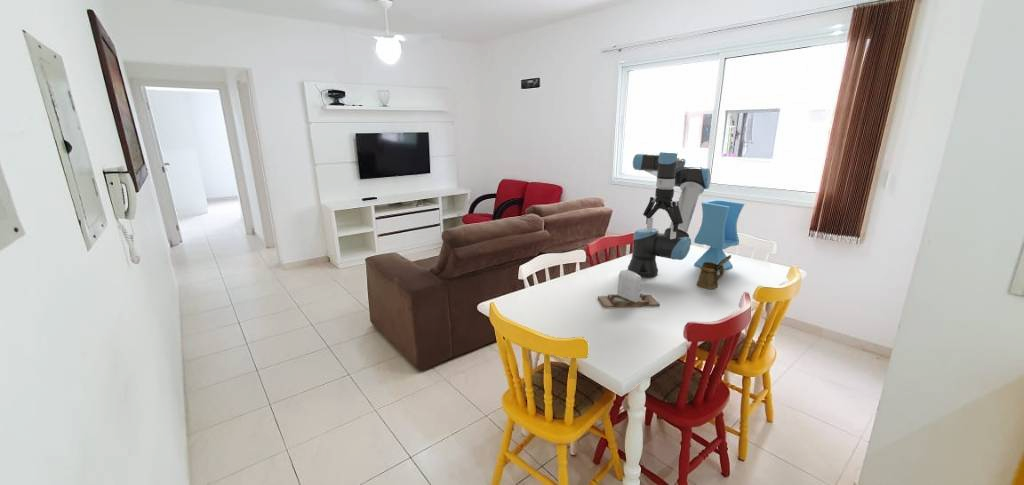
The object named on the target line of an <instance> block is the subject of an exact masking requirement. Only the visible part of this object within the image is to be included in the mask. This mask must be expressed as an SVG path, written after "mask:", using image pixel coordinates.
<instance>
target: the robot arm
mask: <svg viewBox="0 0 1024 485" xmlns="http://www.w3.org/2000/svg"><path fill="white" fill-rule="evenodd" d="M632 167H633V168H632V169H633V170H635V171H643V172H646V173H648V174H650V175H652V176H655V177H656V186H655V195H654V196H650V197H649V202H648V203H647V205H646V208H645V209H644V212H643V214H642V215H643V216H644V217H646V220H645V221H646V222H645V223H646V224H645V225H646V228H639V229H637V230H635V231H634V233H633V238H632V240H633V241H632V255H631V259H630V260H629V263H628V266H627V270H629V271H632V272H635V273H636V274H638V275H639V276H641V278H653V277H656V276H658V274H659V269H658V265H657V260H656V258H657V257H660V258H665V259H670V260H677V261H682V260H684V259H685V258H687V256H688V254H689V252H690V249H691V244H692V238H690V234H689V233H688V231H689V227H690V224H691V222H692V219H693V218H692V217H693V215H694V212H695V210H696V209H695V208H696V206H697V203H698V200H699V196H700V195H702V194H703V193H704V192H705V190H708V189H709V188H710V184H711V170H710V167H709V166H706V165H690V164H688V165H687V164H686V159H685V157H684V156H683V155H681V154H678V152H676V151H660V152H659V153H658V154H653V153H649V154H648V153H637V154H635V155H634V156H633V160H632ZM675 187H676V188H678V187H679V189H680V190H681V192H680V196H679V198H678V200H674V201H673V198H674V196H675ZM661 209H662V210H663V211H665V212H667V215H668V216H669V218H670V221H671V222H670V225H669V227H668V228H665V230H664V233H661V232H660V233H659V230H658V229H657V228H653V224H654V218H653V217H654V215H655V214H656V213H657V211H658V210H661Z"/></svg>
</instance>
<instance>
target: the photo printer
mask: <svg viewBox="0 0 1024 485" xmlns="http://www.w3.org/2000/svg"><path fill="white" fill-rule="evenodd" d="M617 283H618V285H617V294H618V295H619V296H621V297H623V298H626V299H628V300H630V301H633V302H638V301H639V300H640V294H641V292H642V291H641V290H642V277H641V276H639V275H638V274H636V273H635V272H632V271H629V270H628V269H623V270H620V272H619V273H618V282H617Z"/></svg>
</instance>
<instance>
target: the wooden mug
mask: <svg viewBox="0 0 1024 485" xmlns="http://www.w3.org/2000/svg"><path fill="white" fill-rule="evenodd" d="M726 256H727V255H726ZM731 258H732V255H731V254H730V255H728V256H727V257H726V258H724V259H723V260H722V261H721V262H720V263H719V264H715V263H711V262H704V263H703V265H702V267H700V269H701V270H700V274H699V276H698V280H697V282H696V286H697V287H698V288H700V289H703V290H710V291H711V290H712V291H713V290H717V289H718V287H719V283H718V282H719V280H720V279H721V278H722V277H723V275H724V273H725V270H724V267H723V264H724V263H726V262H727V261H728V260H729V261H730V259H731ZM718 270H719V271H720V272H718Z"/></svg>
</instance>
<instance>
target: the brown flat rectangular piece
mask: <svg viewBox="0 0 1024 485" xmlns="http://www.w3.org/2000/svg"><path fill="white" fill-rule="evenodd" d="M597 299H598V301H599V300H600V301H599V303H600V302H601V303H602V304H601V303H600V304H601V305H603V306H604V307H621V308H642V306H651V307H660V306H661V304H660V303H659V301H657V300H656V298H655V297H654V296H653V295H651V294H644V293H640V300H639V301H638V302H633V301H630V300H628V299H626V298H623V297H621V296H619V295H618V294H608V295H599V296H597ZM603 306H602V307H603ZM604 307H603V308H604Z"/></svg>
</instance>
